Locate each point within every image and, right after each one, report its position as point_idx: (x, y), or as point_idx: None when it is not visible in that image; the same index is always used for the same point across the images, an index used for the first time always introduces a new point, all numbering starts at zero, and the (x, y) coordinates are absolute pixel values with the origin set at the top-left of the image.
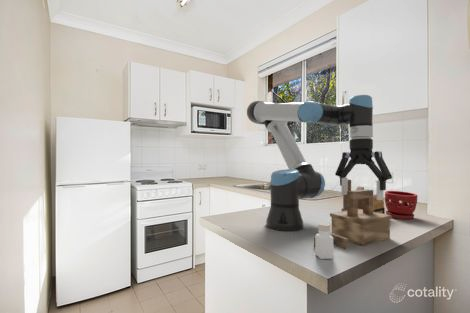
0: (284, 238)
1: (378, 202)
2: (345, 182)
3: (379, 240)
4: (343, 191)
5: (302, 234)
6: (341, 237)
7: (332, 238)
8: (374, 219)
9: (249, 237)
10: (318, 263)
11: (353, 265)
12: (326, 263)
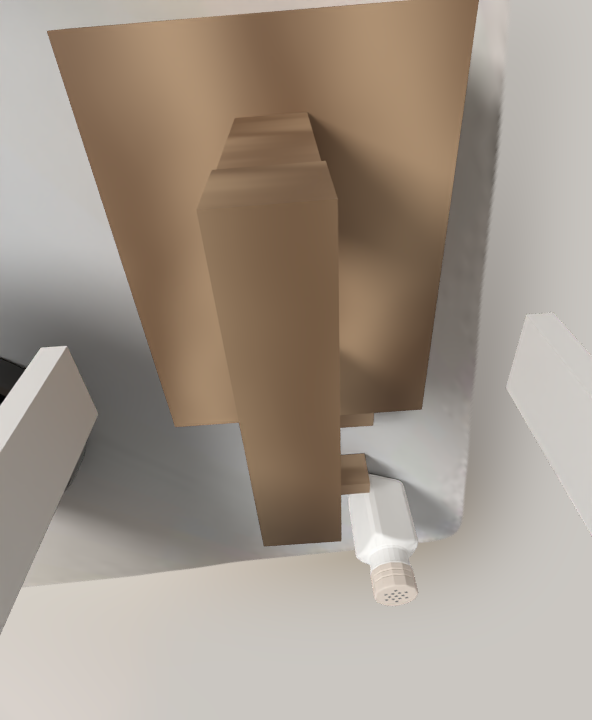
0: (173, 498)
1: None
2: (8, 522)
3: None
4: (83, 444)
5: (143, 428)
6: (347, 425)
7: (417, 543)
8: (435, 299)
9: (131, 563)
10: None
11: (464, 463)
12: (409, 504)
